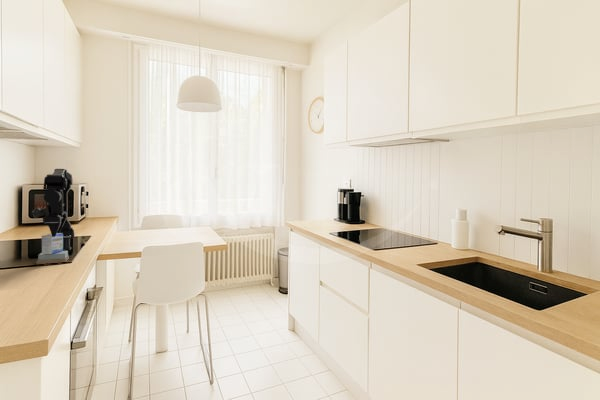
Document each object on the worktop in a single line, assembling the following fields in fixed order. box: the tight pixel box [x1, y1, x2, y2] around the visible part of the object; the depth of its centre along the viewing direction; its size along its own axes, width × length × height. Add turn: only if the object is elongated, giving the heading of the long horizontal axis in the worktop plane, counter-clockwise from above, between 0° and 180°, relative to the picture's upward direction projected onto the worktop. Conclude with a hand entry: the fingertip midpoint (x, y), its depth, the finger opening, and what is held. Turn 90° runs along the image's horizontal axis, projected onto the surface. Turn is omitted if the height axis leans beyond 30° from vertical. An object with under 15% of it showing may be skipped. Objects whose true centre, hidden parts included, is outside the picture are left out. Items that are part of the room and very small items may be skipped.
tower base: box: [35, 255, 70, 265], centre depth 151 cm, size 7×11×2 cm, turn 118°
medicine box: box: [41, 233, 64, 254], centre depth 151 cm, size 8×4×9 cm, turn 3°
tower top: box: [37, 250, 69, 261], centre depth 152 cm, size 6×10×2 cm, turn 116°
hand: (55, 234), depth 152 cm, fingers open, 9 cm apart
